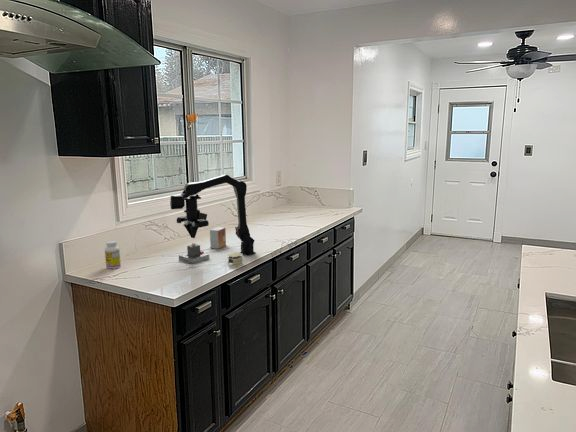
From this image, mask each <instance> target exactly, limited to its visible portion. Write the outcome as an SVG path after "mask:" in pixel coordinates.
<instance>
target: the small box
mask: <svg viewBox="0 0 576 432" xmlns="http://www.w3.org/2000/svg"><path fill="white" fill-rule="evenodd" d="M226 231H227V230H226V227H220V226H217V227H214V228H212V229H209V241H210V243H209V244H210V245H209V246H210V248H212V249H220V248H223V247H226V246H227V238H226Z"/></svg>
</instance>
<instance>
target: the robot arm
mask: <svg viewBox="0 0 576 432" xmlns="http://www.w3.org/2000/svg"><path fill="white" fill-rule="evenodd" d="M222 184H228V185H230V186H231V187H232V188H233V191H234V194H235V198H236V207H237V219H238V223H237V226H235V227H234V229H235V235H236V237H237V238H238V239H239V240H240V252H239V253H241V254H242V256H252V255H253V254H256V253H257V252H255V251H254V243H255V239H254V238H253V237H251V234H250V229H249V227H248V224H247V211H246V195H247V190H248V189H247V188H248V186H247V183H246V182H245V181H243V180H240V179H235V178H234V177H231V176H230V175H228V174H225V173H224V174H222V175H219V176H216V177H215V176H214V177H211V178H209V179H206V180H201V181H194V182H193V181H192V182H187V183H186V184H185V185H184V187H183V189H184V190H183V191H182V192H181V194H180V195H170V197H169V199H170V201H169V205H170V210H181V209H183V208H185V210H183V213H185V215H182V216H177V218H176V224H182V223H183V222H184V223H183V227H184V228H185V229H186V231H187V233H188V234H189V236H190V238H191V239H196V235H197V232H198V229H199V228H204V227H205V228H206V227H208V226H209V225H210V224H209V222H210V221H208V220H207V217H208V214H207V213H204V212H201V211H200V209H198V200H201V199H202V197H201V196H200V195H199V193H200V192H202V191H204V190H206V189H210V188H212V187H216V186H219V185H222Z"/></svg>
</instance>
